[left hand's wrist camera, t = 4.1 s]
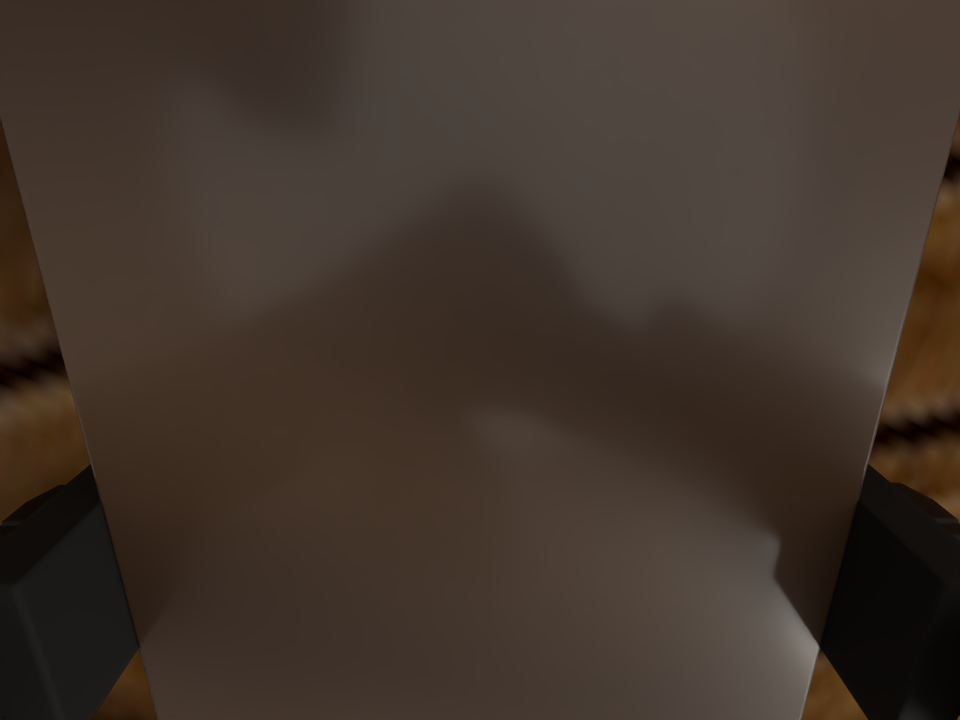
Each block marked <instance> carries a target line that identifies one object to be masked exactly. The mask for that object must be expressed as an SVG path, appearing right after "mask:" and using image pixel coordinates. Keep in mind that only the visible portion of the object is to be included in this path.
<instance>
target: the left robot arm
mask: <svg viewBox="0 0 960 720" xmlns="http://www.w3.org/2000/svg"><path fill="white" fill-rule="evenodd" d="M138 648H139V646H138V643H137V639H136V635H135V631H134V627H133V623H132V620H131V616H130V612H129V608H128V604H127V600H126V597H125V593H124V589H123V585H122V581H121V578H120V574H119V570H118V566H117V562H116V558H115V555H114V551H113V547H112V543H111V539H110V536H109V532H108V528H107V524H106V520H105V516H104V513H103V509H102V505H101V501H100V497H99V494H98V490H97V486H96V482H95V478H94V474H93V471H92V467H91V464H90V465H89V466H88V467H87V468H86V469H84V470H83V471H82V472H81V473H80V474H78V475H77V476H76V477H75V478H74V479H73V480H71V481H70V482H69V483H68V484H67V485H59V486H57V487H55V488H53V489H51V490H49V491H47V492H45V493H43V494H41V495H39V496H37V497H35V498H33V499H32V500H30V501H28V502H26V503H25V504H24V505H22V506H21V507H20V508H19V509H17V510H16V511H15V512H14V513H12V514H11V515H10V516H9V517H7V518H6V519H5V520H4V521H3V522H2V525H1V526H0V718H2V720H91V719H92V717H93V716H94V714H95V713H96V711H97V710H98V708H99V707H100V705H101V704H102V702H103V701H104V699H105V698H106V696H107V695H108V693H109V692H110V690H111V689H112V687H113V686H114V684H115V683H116V681H117V680H118V678H119V677H120V675H121V674H122V672H123V671H124V669H125V668H126V666H127V665H128V663H129V662H130V660H131V659H132V657H133V656H134V654H135V653H136V651H137V650H138ZM820 648H821V649H822V651H823V652H824V654H825V655H826V657H827V658H828V660H829V661H830V663H831V664H832V666H833V667H834V669H835V670H836V672H837V673H838V675H839V676H840V678H841V679H842V681H843V682H844V684H845V685H846V687H847V688H848V690H849V691H850V693H851V694H852V696H853V697H854V699H855V700H856V702H857V703H858V705H859V706H860V708H861V709H862V711H863V712H864V714H865V715H866V717H867V718H868V720H957V719H958V716H960V524H959V523H958V519H957V518H955V517H954V516H953V515H952V514H950V513H949V512H948V511H947V510H945V509H944V508H943V507H942V506H940V505H939V504H938V503H937V502H935V501H934V500H933V499H931V498H929V497H927V496H925V495H923V494H921V493H919V492H917V491H915V490H913V489H911V488H909V487H907V486H905V485H903V484H902V483H890V482H889V481H888V480H887V479H886V478H884V477H883V476H882V475H881V474H880V473H878V472H877V471H876V470H875V469H874V468H873V467H871V466H870V465H869V464H868V466H867V470H866V474H865V478H864V482H863V485H862V489H861V493H860V497H859V501H858V505H857V508H856V512H855V516H854V520H853V524H852V528H851V531H850V535H849V539H848V543H847V547H846V550H845V554H844V558H843V562H842V566H841V570H840V573H839V577H838V581H837V585H836V589H835V593H834V596H833V600H832V604H831V608H830V612H829V616H828V619H827V623H826V627H825V631H824V635H823V639H822V642H821V646H820Z"/></svg>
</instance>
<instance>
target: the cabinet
mask: <svg viewBox="0 0 960 720" xmlns="http://www.w3.org/2000/svg"><path fill="white" fill-rule="evenodd" d="M959 114H960V0H0V119H1V123H2V127H3V131H4V134H5V138H6V142H7V146H8V150H9V153H10V157H11V161H12V165H13V169H14V173H15V176H16V180H17V184H18V188H19V192H20V196H21V199H22V203H23V207H24V211H25V215H26V218H27V222H28V226H29V230H30V234H31V238H32V241H33V245H34V249H35V253H36V257H37V260H38V264H39V268H40V272H41V276H42V280H43V283H44V287H45V291H46V295H47V299H48V302H49V306H50V310H51V314H52V318H53V322H54V325H55V329H56V333H57V337H58V341H59V345H60V348H61V352H62V356H63V360H64V364H65V367H66V371H67V375H68V379H69V383H70V387H71V390H72V394H73V398H74V402H75V406H76V409H77V413H78V417H79V421H80V425H81V429H82V432H83V436H84V440H85V444H86V448H87V451H88V455H89V459H90V463H91V467H92V471H93V474H94V478H95V482H96V486H97V490H98V494H99V497H100V501H101V505H102V509H103V513H104V516H105V520H106V524H107V528H108V532H109V536H110V539H111V543H112V547H113V551H114V555H115V558H116V562H117V566H118V570H119V574H120V578H121V581H122V585H123V589H124V593H125V597H126V600H127V604H128V608H129V612H130V616H131V620H132V623H133V627H134V631H135V635H136V639H137V643H138V646H139V650H140V654H141V658H142V662H143V665H144V669H145V673H146V677H147V681H148V685H149V688H150V692H151V696H152V700H153V704H154V707H155V711H156V715H157V719H158V720H801V719H802V715H803V711H804V707H805V704H806V700H807V696H808V692H809V688H810V684H811V681H812V677H813V673H814V669H815V665H816V662H817V658H818V654H819V650H820V646H821V642H822V639H823V635H824V631H825V627H826V623H827V619H828V616H829V612H830V608H831V604H832V600H833V596H834V593H835V589H836V585H837V581H838V577H839V573H840V570H841V566H842V562H843V558H844V554H845V550H846V547H847V543H848V539H849V535H850V531H851V528H852V524H853V520H854V516H855V512H856V508H857V505H858V501H859V497H860V493H861V489H862V485H863V482H864V478H865V474H866V470H867V466H868V462H869V459H870V455H871V451H872V447H873V443H874V439H875V436H876V432H877V428H878V424H879V420H880V416H881V413H882V409H883V405H884V401H885V397H886V394H887V390H888V386H889V382H890V378H891V374H892V371H893V367H894V363H895V359H896V355H897V351H898V348H899V344H900V340H901V336H902V332H903V328H904V325H905V321H906V317H907V313H908V309H909V305H910V302H911V298H912V294H913V290H914V286H915V282H916V279H917V275H918V271H919V267H920V263H921V259H922V256H923V252H924V248H925V244H926V240H927V237H928V233H929V229H930V225H931V221H932V217H933V214H934V210H935V206H936V202H937V198H938V194H939V191H940V187H941V183H942V179H943V175H944V171H945V168H946V164H947V160H948V156H949V152H950V148H951V145H952V141H953V137H954V133H955V129H956V125H957V122H958V118H959Z"/></svg>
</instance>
